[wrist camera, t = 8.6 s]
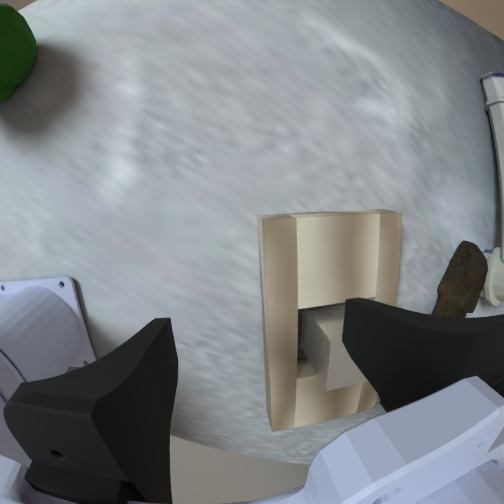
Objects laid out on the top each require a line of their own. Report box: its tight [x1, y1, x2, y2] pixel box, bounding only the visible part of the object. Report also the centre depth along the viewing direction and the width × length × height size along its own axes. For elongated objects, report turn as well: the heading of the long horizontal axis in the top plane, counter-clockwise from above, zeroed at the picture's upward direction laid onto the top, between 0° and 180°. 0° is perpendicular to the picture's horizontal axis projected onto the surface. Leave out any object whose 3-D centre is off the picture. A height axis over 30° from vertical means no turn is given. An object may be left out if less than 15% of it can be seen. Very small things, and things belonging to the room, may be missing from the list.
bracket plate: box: [257, 209, 402, 432], centre depth 21 cm, size 10×18×2 cm, turn 4°
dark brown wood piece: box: [380, 241, 488, 412], centre depth 23 cm, size 19×4×5 cm, turn 161°
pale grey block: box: [301, 302, 368, 391], centre depth 19 cm, size 4×4×6 cm
